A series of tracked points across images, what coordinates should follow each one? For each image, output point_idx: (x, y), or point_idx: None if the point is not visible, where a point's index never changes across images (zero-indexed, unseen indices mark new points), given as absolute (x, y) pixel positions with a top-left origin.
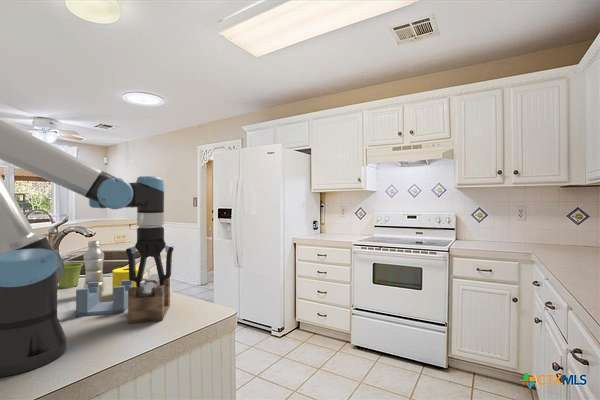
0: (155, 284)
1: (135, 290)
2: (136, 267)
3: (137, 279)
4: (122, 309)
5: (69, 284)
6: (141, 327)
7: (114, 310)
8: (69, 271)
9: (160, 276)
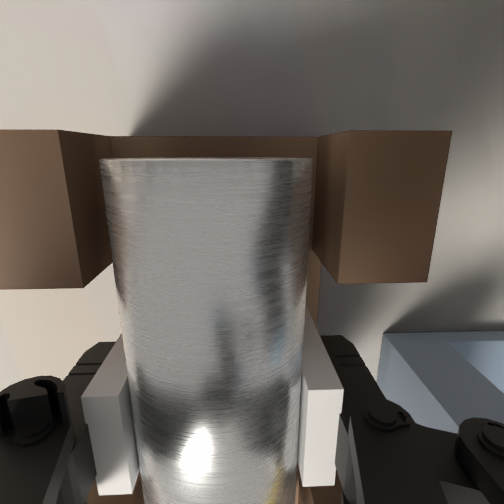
0: (121, 328)
1: (346, 132)
2: None
3: (399, 434)
4: (397, 343)
5: None
6: (226, 52)
7: (438, 340)
8: None
9: (18, 476)
